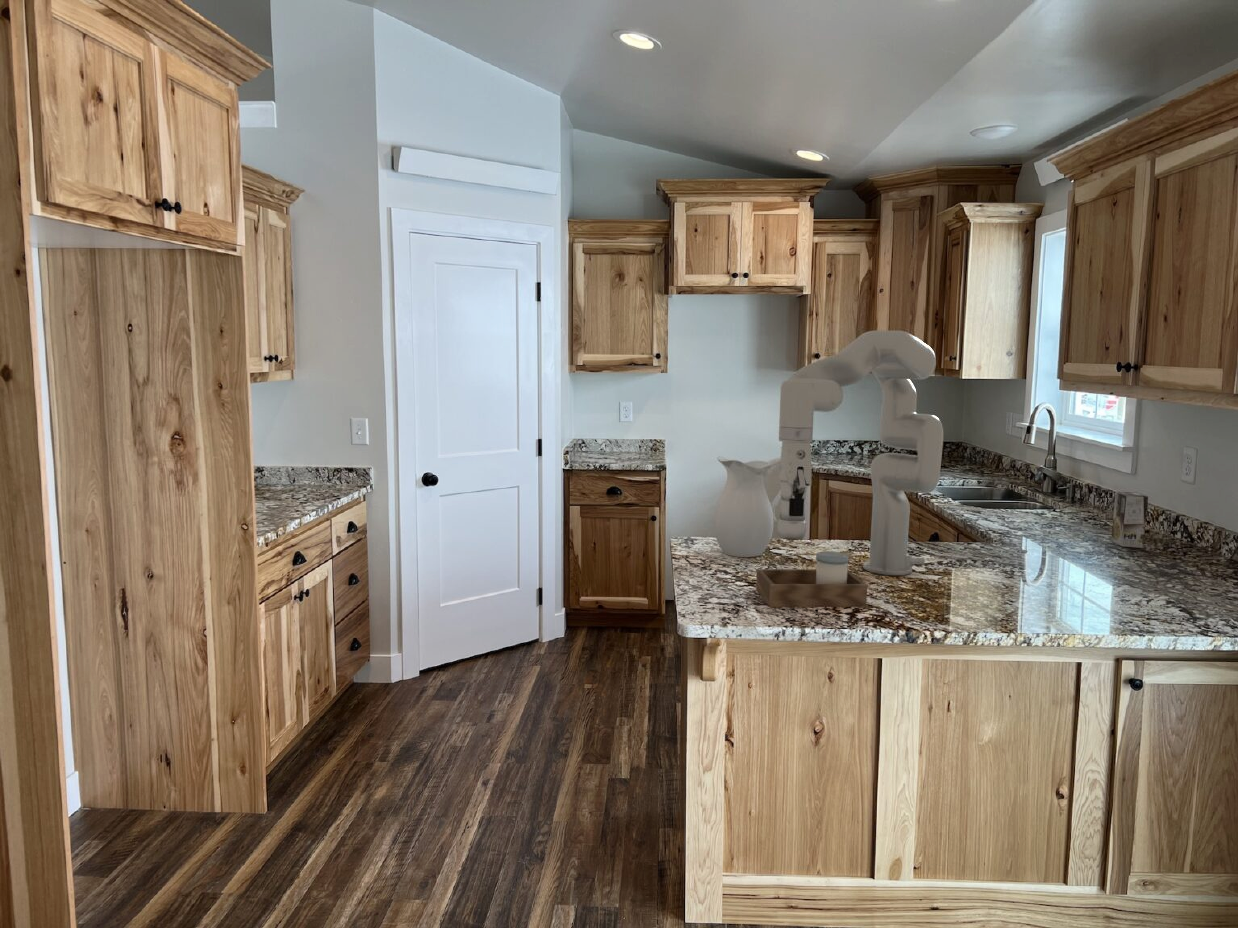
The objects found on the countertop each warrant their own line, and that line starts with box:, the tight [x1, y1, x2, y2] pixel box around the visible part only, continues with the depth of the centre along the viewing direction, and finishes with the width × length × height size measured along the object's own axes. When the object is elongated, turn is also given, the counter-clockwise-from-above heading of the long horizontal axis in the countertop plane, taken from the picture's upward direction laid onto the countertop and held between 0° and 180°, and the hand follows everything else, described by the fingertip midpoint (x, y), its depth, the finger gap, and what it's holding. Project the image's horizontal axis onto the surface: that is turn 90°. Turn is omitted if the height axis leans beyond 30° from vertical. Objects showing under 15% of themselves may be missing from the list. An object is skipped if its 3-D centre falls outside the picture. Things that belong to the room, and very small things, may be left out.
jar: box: [815, 550, 850, 584], centre depth 196 cm, size 7×7×10 cm
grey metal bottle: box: [776, 454, 808, 542], centre depth 193 cm, size 6×7×20 cm
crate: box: [755, 568, 868, 608], centre depth 196 cm, size 22×14×6 cm, turn 94°
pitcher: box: [713, 456, 781, 558], centre depth 243 cm, size 24×17×28 cm
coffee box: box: [1110, 491, 1149, 549], centre depth 263 cm, size 9×6×16 cm
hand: (792, 512), depth 193 cm, fingers closed on grey metal bottle, 5 cm apart
